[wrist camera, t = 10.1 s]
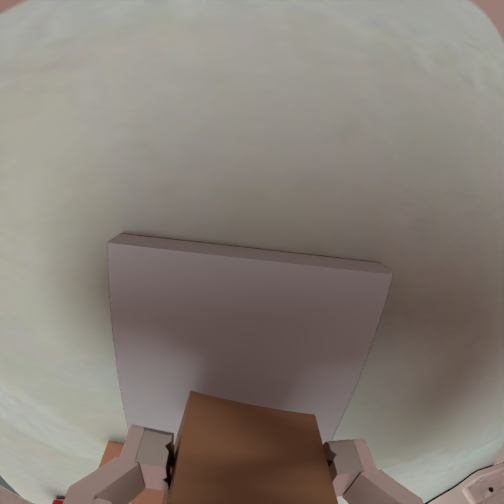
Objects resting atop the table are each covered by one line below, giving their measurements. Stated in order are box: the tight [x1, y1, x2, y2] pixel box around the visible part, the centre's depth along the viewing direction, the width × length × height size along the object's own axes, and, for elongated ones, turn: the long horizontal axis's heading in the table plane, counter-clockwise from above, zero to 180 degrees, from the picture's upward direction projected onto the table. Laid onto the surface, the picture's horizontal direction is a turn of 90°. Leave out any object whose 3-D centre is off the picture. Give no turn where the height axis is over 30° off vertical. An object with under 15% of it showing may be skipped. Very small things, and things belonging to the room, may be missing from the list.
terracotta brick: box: [98, 441, 164, 504], centre depth 16 cm, size 5×5×5 cm
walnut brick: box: [162, 391, 338, 504], centre depth 9 cm, size 5×5×5 cm
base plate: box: [108, 234, 393, 444], centre depth 14 cm, size 12×12×2 cm
